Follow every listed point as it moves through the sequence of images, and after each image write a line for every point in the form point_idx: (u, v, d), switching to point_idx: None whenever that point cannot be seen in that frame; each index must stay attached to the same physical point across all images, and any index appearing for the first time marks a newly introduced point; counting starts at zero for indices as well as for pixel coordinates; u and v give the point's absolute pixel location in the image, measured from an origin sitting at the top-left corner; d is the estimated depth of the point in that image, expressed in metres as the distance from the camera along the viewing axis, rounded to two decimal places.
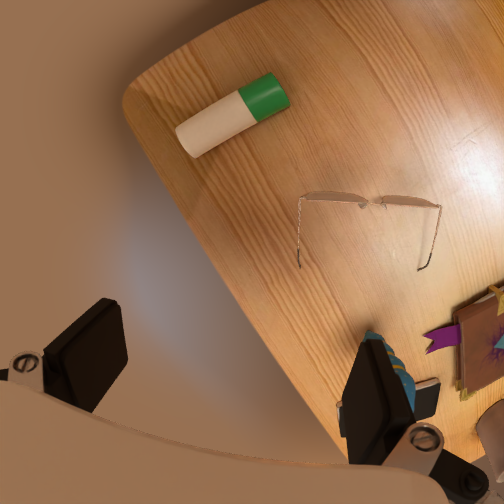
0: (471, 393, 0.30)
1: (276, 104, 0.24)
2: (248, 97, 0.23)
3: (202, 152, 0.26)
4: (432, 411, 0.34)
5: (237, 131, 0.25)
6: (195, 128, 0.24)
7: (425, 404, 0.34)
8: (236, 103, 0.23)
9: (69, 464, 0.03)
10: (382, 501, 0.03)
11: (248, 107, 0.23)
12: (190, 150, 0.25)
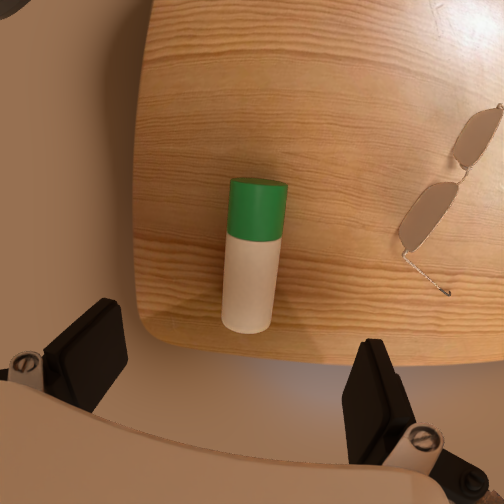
0: None
1: (274, 205, 0.18)
2: (242, 231, 0.18)
3: (269, 316, 0.21)
4: None
5: (275, 267, 0.20)
6: (236, 309, 0.20)
7: None
8: (240, 249, 0.18)
9: (70, 464, 0.03)
10: (382, 501, 0.03)
11: (255, 240, 0.18)
12: (256, 329, 0.20)
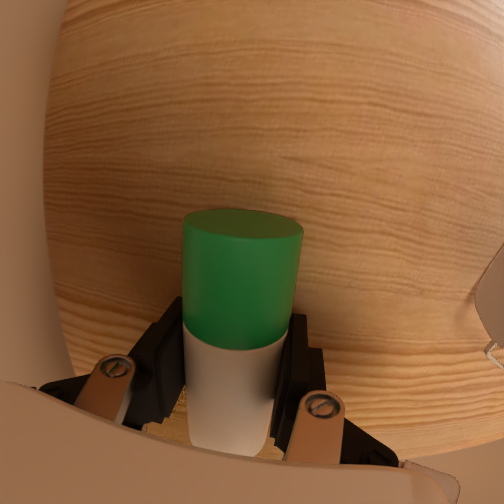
0: None
1: (268, 281, 0.08)
2: (202, 328, 0.09)
3: (260, 441, 0.11)
4: None
5: (270, 384, 0.10)
6: (203, 434, 0.10)
7: None
8: (200, 357, 0.09)
9: (70, 464, 0.03)
10: (382, 501, 0.03)
11: (226, 347, 0.08)
12: None
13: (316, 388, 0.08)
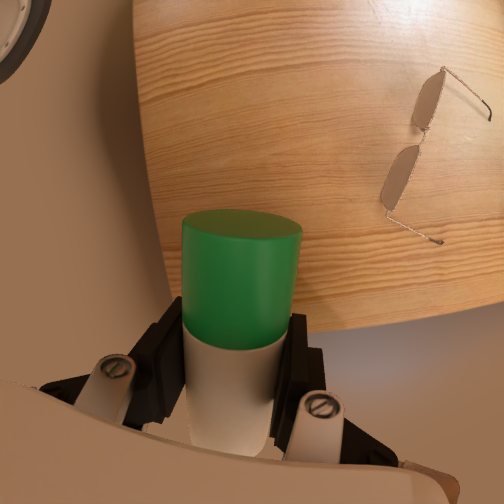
0: None
1: (268, 281, 0.08)
2: (201, 328, 0.09)
3: (260, 442, 0.11)
4: None
5: (270, 384, 0.10)
6: (203, 434, 0.10)
7: None
8: (200, 357, 0.09)
9: (70, 464, 0.03)
10: (382, 501, 0.03)
11: (225, 347, 0.08)
12: None
13: (316, 388, 0.08)
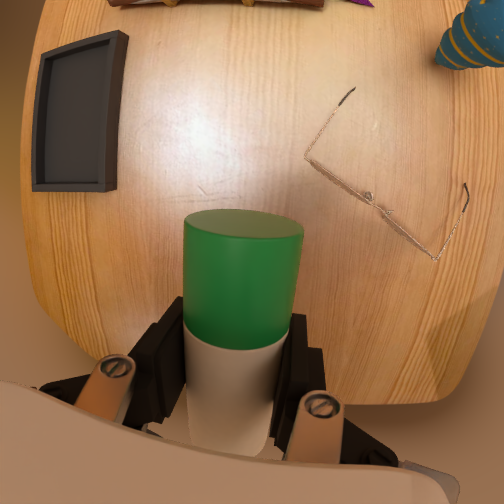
0: None
1: (269, 281, 0.08)
2: (202, 328, 0.09)
3: (261, 441, 0.11)
4: None
5: (271, 384, 0.10)
6: (203, 434, 0.10)
7: None
8: (201, 357, 0.09)
9: (70, 464, 0.03)
10: (382, 501, 0.03)
11: (227, 347, 0.08)
12: None
13: (316, 388, 0.08)
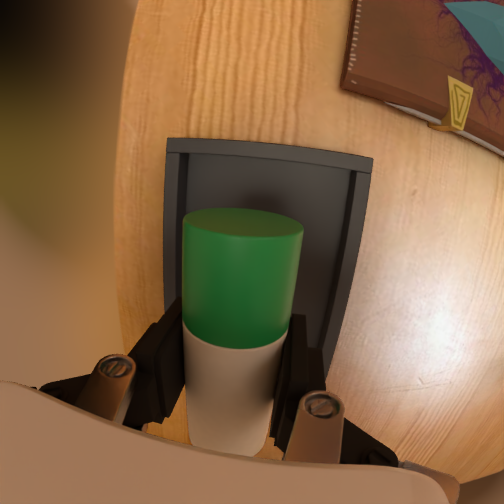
0: None
1: (268, 280, 0.08)
2: (201, 327, 0.09)
3: (260, 441, 0.11)
4: None
5: (270, 383, 0.10)
6: (202, 434, 0.10)
7: None
8: (200, 356, 0.09)
9: (70, 464, 0.03)
10: (382, 501, 0.03)
11: (226, 346, 0.08)
12: None
13: (316, 388, 0.08)
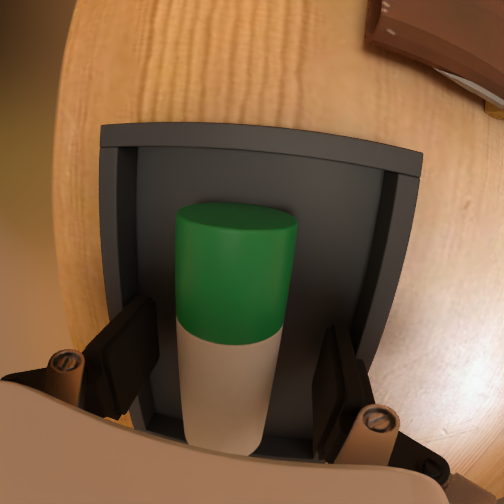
0: None
1: (255, 274, 0.08)
2: (190, 320, 0.08)
3: (253, 442, 0.11)
4: None
5: (262, 383, 0.09)
6: (194, 429, 0.10)
7: None
8: (189, 350, 0.09)
9: (70, 464, 0.03)
10: (382, 501, 0.03)
11: (212, 341, 0.08)
12: None
13: (365, 401, 0.08)
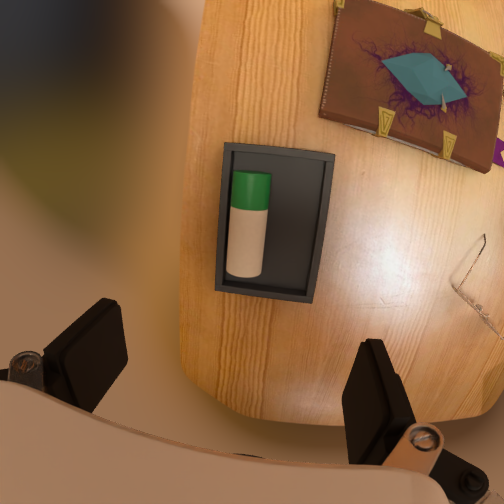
0: (495, 58, 0.19)
1: (237, 184, 0.27)
2: None
3: (237, 267, 0.29)
4: None
5: (240, 229, 0.28)
6: None
7: None
8: None
9: (70, 465, 0.03)
10: (382, 501, 0.03)
11: (231, 205, 0.29)
12: (228, 269, 0.30)
13: None
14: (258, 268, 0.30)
